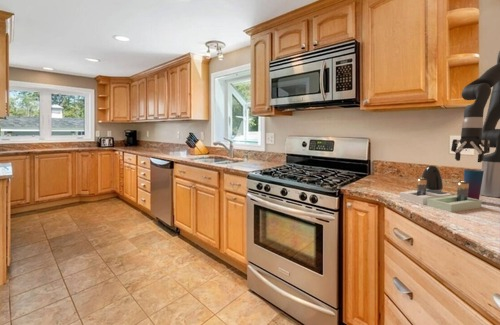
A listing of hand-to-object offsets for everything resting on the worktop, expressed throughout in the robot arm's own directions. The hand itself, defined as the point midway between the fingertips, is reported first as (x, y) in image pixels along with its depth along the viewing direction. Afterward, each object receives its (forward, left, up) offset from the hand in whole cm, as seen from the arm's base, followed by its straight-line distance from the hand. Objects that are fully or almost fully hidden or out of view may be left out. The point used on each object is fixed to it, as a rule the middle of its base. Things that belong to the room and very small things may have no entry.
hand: (468, 161), depth 126 cm
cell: (+24, -4, -18) cm, 30 cm away
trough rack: (+21, +9, -18) cm, 29 cm away
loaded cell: (+16, +9, -18) cm, 25 cm away
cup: (+5, +6, -18) cm, 20 cm away
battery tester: (+21, -4, -18) cm, 28 cm away
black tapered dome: (+7, -12, -18) cm, 23 cm away
